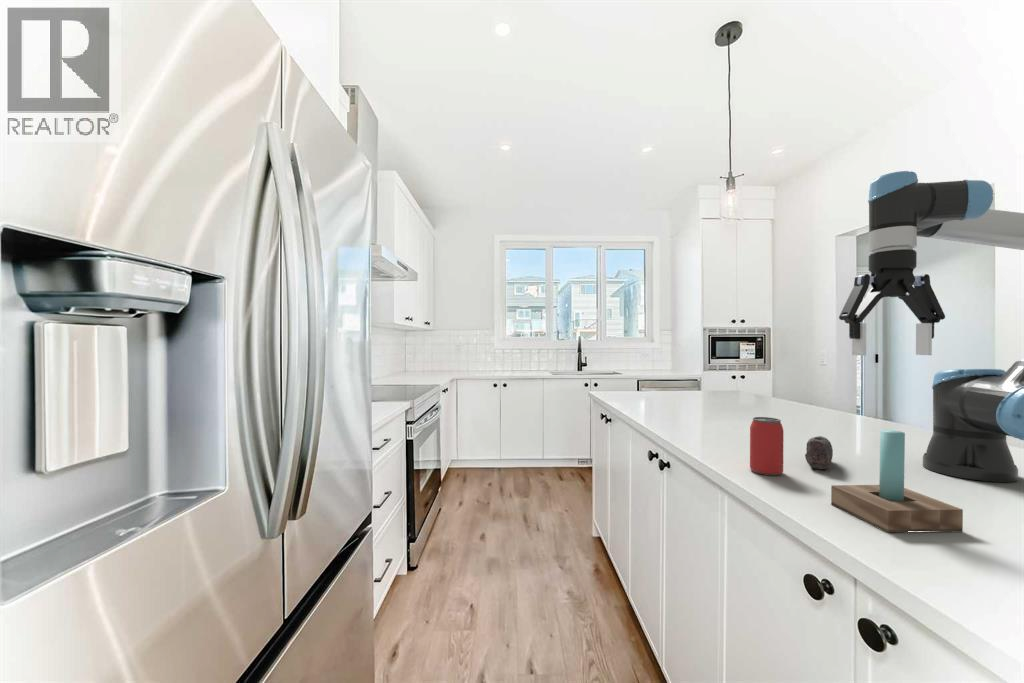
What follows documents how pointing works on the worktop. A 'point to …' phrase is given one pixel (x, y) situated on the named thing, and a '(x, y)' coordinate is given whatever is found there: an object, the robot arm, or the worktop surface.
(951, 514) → the board
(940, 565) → the worktop surface
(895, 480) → the pin
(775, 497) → the worktop surface
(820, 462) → the perforated stone tool
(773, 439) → the beer can
